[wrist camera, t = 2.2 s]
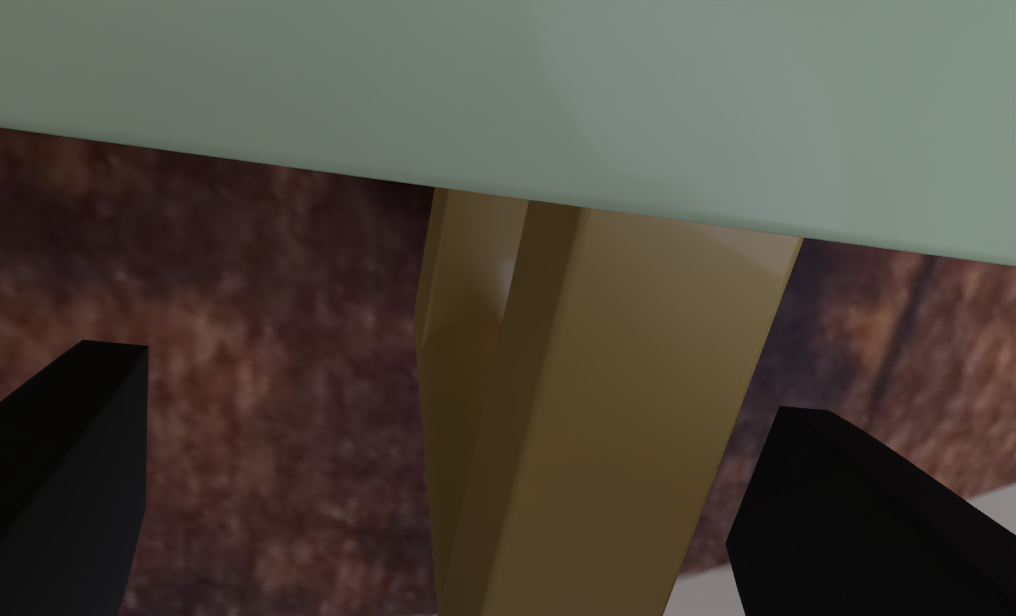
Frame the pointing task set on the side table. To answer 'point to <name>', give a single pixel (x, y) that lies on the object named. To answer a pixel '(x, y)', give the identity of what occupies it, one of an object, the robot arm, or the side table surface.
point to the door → (572, 216)
